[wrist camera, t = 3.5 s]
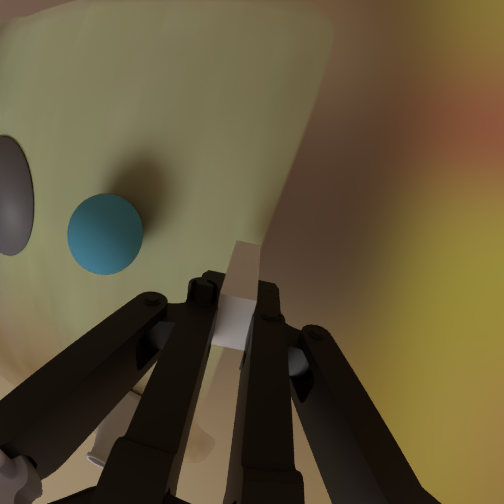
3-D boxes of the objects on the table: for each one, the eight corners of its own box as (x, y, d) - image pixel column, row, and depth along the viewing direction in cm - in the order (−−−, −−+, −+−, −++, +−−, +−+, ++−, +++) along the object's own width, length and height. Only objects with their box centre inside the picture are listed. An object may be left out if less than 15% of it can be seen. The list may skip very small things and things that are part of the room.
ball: (94, 248, 20) (55, 277, 15) (96, 183, 18) (51, 197, 13) (151, 263, 20) (121, 298, 15) (158, 193, 18) (122, 211, 13)
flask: (164, 411, 28) (142, 478, 18) (134, 422, 29) (112, 478, 20) (117, 374, 26) (82, 442, 16) (92, 390, 28) (61, 446, 18)
